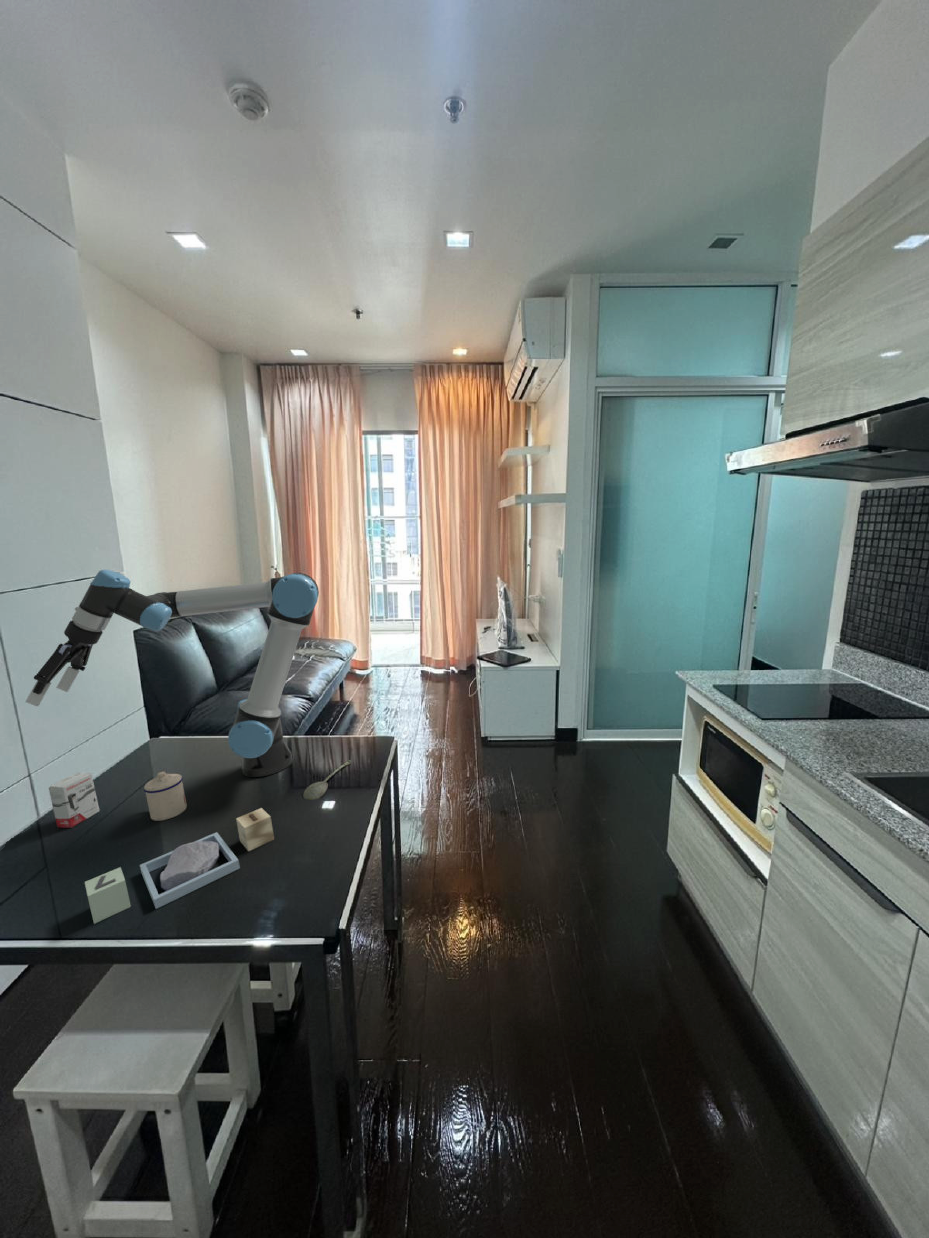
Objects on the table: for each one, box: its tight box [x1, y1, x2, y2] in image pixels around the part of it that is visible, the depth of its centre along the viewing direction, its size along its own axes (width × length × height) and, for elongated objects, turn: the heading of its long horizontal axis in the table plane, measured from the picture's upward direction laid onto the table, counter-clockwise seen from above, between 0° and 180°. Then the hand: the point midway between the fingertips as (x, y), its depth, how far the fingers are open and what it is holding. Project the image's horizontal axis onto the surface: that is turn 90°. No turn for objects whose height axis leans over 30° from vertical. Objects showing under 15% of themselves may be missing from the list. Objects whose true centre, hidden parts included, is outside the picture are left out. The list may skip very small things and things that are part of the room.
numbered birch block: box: [235, 807, 275, 852], centre depth 117 cm, size 6×6×6 cm
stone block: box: [159, 841, 220, 892], centre depth 108 cm, size 12×5×10 cm
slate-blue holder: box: [139, 831, 241, 910], centre depth 108 cm, size 16×16×2 cm
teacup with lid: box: [143, 771, 188, 822], centre depth 134 cm, size 12×9×12 cm
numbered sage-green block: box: [84, 866, 132, 925], centre depth 98 cm, size 6×6×6 cm
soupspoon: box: [302, 759, 352, 800], centre depth 145 cm, size 22×3×7 cm
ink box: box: [48, 772, 101, 829], centre depth 134 cm, size 9×5×12 cm, turn 168°
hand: (47, 696), depth 129 cm, fingers open, 13 cm apart
